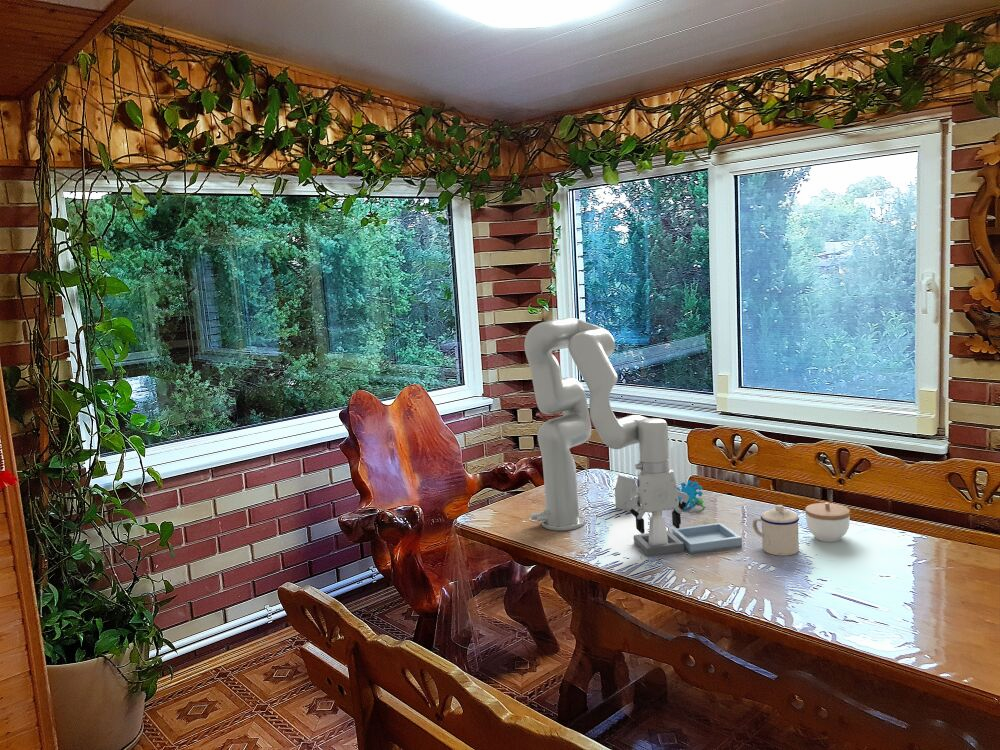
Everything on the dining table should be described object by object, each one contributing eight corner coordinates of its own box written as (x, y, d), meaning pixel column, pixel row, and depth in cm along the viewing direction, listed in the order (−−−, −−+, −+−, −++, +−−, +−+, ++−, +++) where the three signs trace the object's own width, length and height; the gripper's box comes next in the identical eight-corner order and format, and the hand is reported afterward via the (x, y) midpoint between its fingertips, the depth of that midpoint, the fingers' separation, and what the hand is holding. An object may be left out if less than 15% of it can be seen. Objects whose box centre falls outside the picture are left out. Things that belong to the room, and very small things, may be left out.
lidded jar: (852, 546, 191) (852, 510, 190) (806, 544, 195) (806, 509, 193) (848, 531, 201) (847, 497, 200) (804, 529, 205) (804, 496, 203)
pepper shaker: (644, 548, 200) (642, 508, 198) (655, 542, 204) (653, 502, 202) (661, 552, 196) (659, 511, 195) (673, 546, 200) (671, 506, 198)
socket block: (647, 556, 194) (646, 548, 194) (634, 543, 204) (633, 535, 204) (684, 551, 196) (683, 543, 195) (669, 538, 206) (668, 530, 205)
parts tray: (691, 553, 194) (690, 544, 194) (672, 537, 206) (672, 529, 205) (742, 546, 196) (741, 537, 196) (721, 531, 208) (720, 522, 208)
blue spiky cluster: (665, 500, 233) (684, 474, 234) (675, 509, 236) (694, 484, 237) (688, 514, 223) (708, 487, 224) (699, 524, 226) (719, 497, 227)
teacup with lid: (806, 548, 192) (805, 504, 190) (788, 559, 186) (787, 514, 184) (762, 538, 201) (761, 495, 199) (744, 548, 195) (743, 504, 193)
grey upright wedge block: (631, 512, 229) (629, 480, 227) (615, 507, 234) (614, 476, 233) (640, 509, 231) (638, 477, 229) (624, 504, 236) (622, 473, 235)
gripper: (628, 474, 192) (632, 538, 194) (692, 465, 194) (695, 529, 197) (618, 467, 199) (622, 529, 201) (680, 459, 202) (684, 520, 204)
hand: (658, 529), depth 199 cm, fingers open, 9 cm apart
